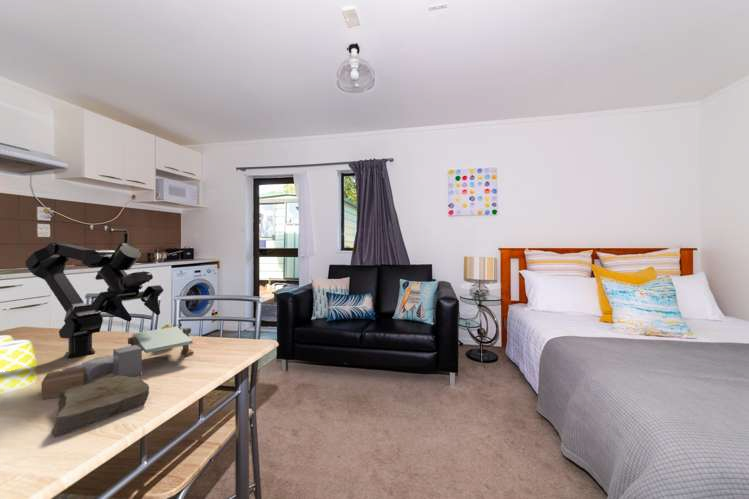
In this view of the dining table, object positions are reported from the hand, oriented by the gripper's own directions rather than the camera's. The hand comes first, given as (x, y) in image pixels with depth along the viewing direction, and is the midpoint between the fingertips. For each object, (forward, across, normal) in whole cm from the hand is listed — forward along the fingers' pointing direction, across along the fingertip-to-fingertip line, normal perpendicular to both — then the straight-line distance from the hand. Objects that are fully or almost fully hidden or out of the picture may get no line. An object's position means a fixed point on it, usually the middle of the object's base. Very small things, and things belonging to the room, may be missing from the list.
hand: (145, 317), depth 96 cm
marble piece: (+22, -24, -2) cm, 33 cm away
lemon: (+6, +13, +14) cm, 20 cm away
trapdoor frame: (+12, +3, +7) cm, 14 cm away
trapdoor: (+11, +2, +5) cm, 12 cm away
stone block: (+6, -10, +14) cm, 19 cm away
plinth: (+10, -20, +10) cm, 25 cm away
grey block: (+14, -10, +6) cm, 18 cm away
